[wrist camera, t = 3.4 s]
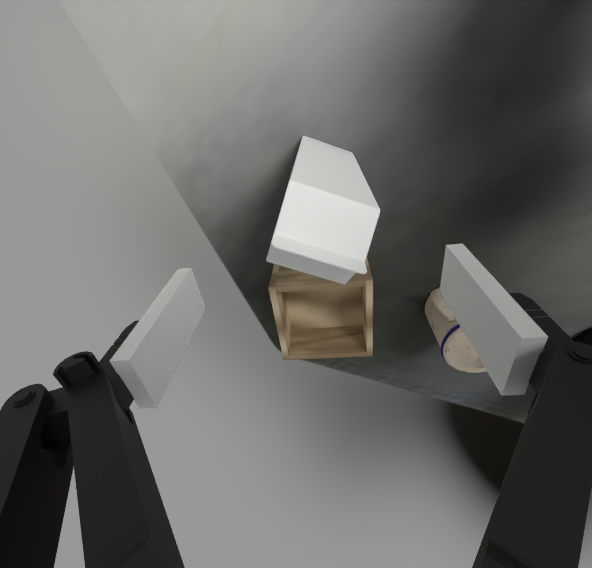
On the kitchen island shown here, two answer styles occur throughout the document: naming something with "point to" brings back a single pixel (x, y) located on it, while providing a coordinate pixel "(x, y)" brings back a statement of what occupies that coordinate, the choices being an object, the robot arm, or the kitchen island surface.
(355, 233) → the milk
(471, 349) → the teacup with lid
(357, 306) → the holder
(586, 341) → the coffee jar
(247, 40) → the kitchen island surface
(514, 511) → the robot arm
